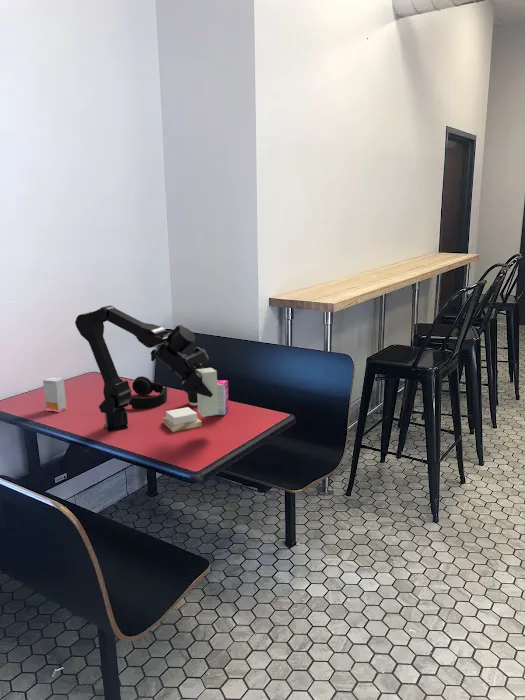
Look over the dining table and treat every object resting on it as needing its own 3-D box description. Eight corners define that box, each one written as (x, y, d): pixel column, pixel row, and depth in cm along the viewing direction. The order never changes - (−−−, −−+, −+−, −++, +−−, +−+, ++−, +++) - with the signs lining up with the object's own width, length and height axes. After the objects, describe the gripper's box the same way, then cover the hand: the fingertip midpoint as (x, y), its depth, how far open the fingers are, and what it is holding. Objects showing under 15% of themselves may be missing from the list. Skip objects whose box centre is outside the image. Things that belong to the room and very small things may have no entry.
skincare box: (45, 411, 212) (42, 379, 210) (54, 408, 216) (50, 376, 213) (59, 413, 210) (55, 381, 207) (67, 409, 214) (63, 378, 211)
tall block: (203, 416, 181) (201, 373, 178) (198, 412, 186) (196, 369, 183) (218, 414, 183) (216, 371, 180) (212, 409, 188) (211, 367, 185)
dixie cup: (181, 403, 218) (179, 374, 215) (199, 398, 222) (198, 370, 220) (192, 408, 211) (190, 378, 209) (210, 403, 216) (209, 374, 214)
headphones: (143, 371, 232) (177, 385, 220) (143, 390, 235) (177, 404, 222) (105, 382, 219) (139, 397, 207) (106, 401, 222) (139, 417, 209)
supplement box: (225, 416, 202) (223, 384, 199) (208, 415, 203) (207, 384, 200) (229, 411, 207) (228, 379, 205) (213, 410, 208) (211, 379, 206)
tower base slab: (172, 433, 189) (172, 426, 188) (163, 424, 197) (163, 417, 197) (201, 428, 193) (201, 421, 192) (191, 419, 202) (191, 412, 201)
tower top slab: (174, 425, 189) (174, 417, 189) (166, 418, 196) (165, 411, 196) (197, 420, 193) (197, 413, 192) (188, 414, 200) (188, 407, 199)
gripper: (191, 348, 170) (230, 382, 173) (193, 335, 188) (228, 367, 192) (165, 375, 171) (204, 409, 175) (170, 360, 189) (205, 391, 193)
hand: (211, 392), depth 183 cm, fingers closed on tall block, 6 cm apart
